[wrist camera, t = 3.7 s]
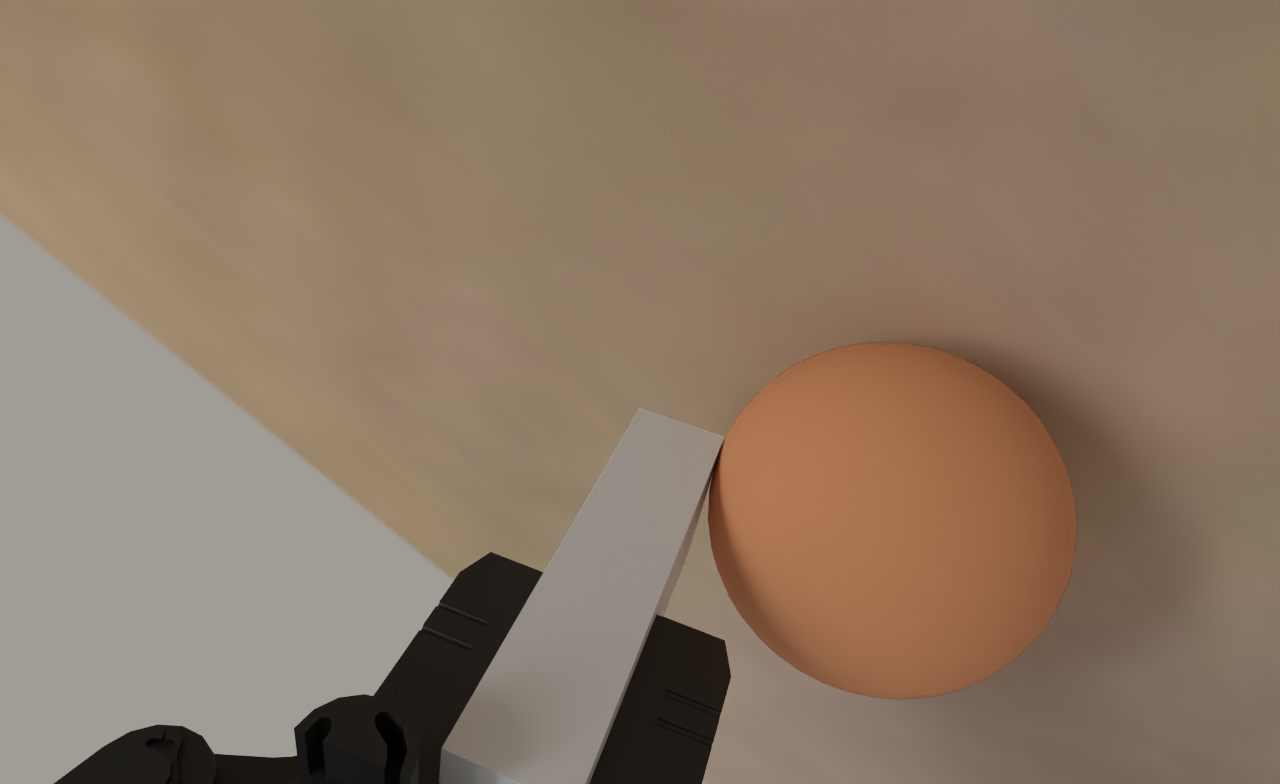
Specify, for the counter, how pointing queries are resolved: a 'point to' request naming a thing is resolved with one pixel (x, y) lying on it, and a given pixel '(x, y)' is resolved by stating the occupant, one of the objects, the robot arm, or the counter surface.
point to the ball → (892, 520)
